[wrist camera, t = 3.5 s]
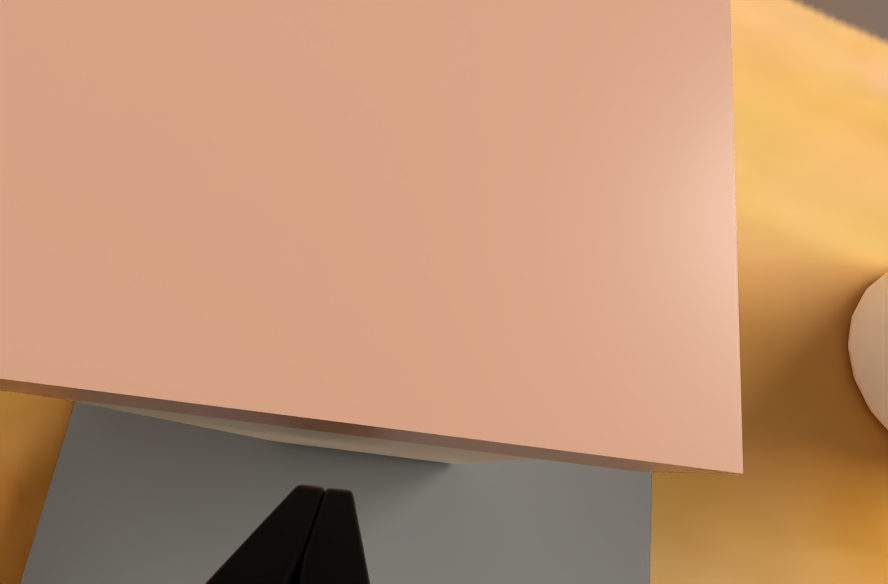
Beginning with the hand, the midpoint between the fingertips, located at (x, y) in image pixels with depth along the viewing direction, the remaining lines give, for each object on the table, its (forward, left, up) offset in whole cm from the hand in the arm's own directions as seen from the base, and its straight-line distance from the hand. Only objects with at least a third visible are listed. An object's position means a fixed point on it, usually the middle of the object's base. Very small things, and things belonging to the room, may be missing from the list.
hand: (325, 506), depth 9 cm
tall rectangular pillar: (+3, 0, -7) cm, 8 cm away
